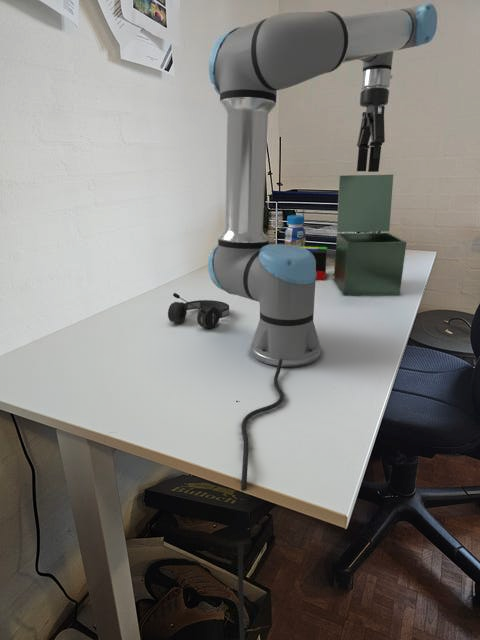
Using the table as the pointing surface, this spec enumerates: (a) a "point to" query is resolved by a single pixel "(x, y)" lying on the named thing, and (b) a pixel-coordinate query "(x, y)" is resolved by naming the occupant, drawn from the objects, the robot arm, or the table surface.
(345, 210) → the bin lid
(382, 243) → the bin
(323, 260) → the puzzle toy
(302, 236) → the beverage bottle
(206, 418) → the table surface
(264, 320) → the robot arm
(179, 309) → the headset
